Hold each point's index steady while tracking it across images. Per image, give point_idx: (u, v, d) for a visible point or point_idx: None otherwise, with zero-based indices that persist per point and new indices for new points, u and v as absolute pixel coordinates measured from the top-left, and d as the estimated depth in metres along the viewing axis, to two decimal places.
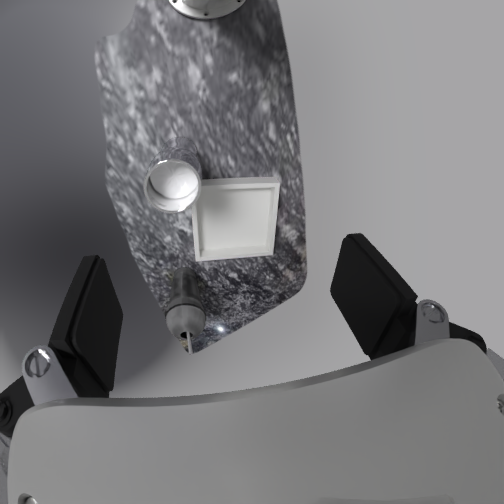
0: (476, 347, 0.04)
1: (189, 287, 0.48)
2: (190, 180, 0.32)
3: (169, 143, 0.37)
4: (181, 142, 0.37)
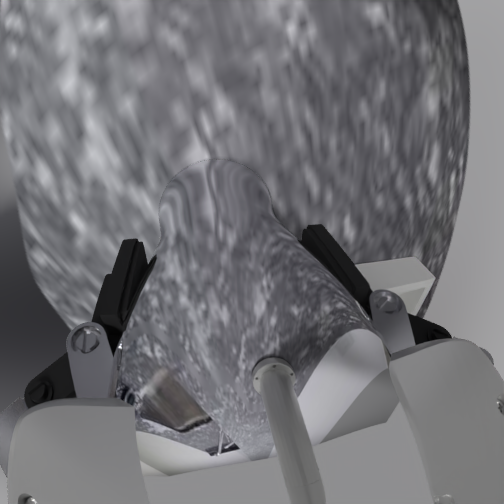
0: (476, 347, 0.04)
1: None
2: None
3: (190, 186, 0.11)
4: (236, 185, 0.11)
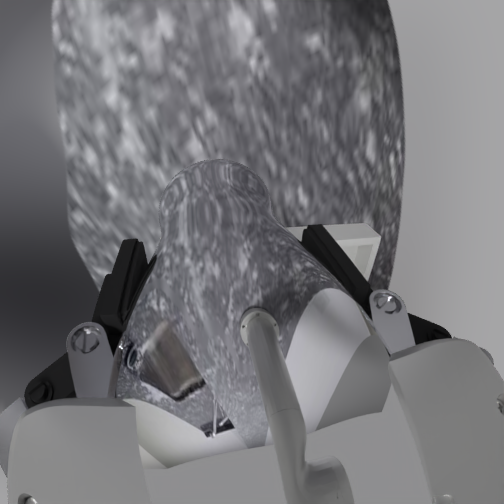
0: (476, 347, 0.04)
1: None
2: None
3: (190, 186, 0.11)
4: (236, 185, 0.11)
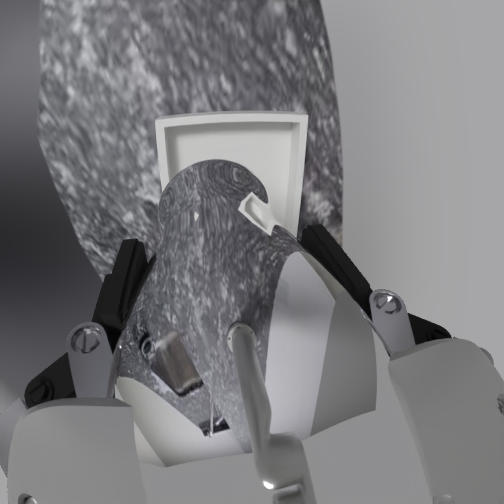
0: (476, 347, 0.04)
1: None
2: None
3: (189, 186, 0.11)
4: (235, 185, 0.11)
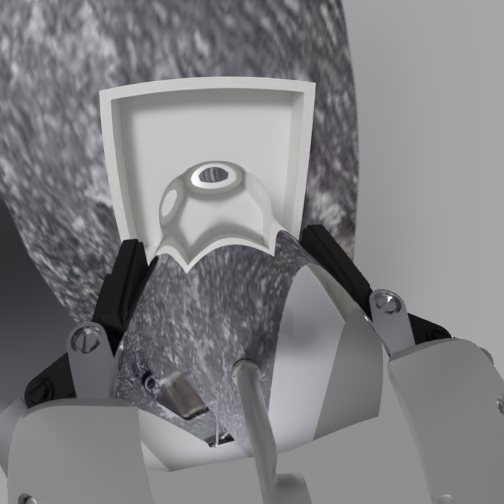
0: (476, 347, 0.04)
1: None
2: None
3: (190, 187, 0.11)
4: (235, 186, 0.11)
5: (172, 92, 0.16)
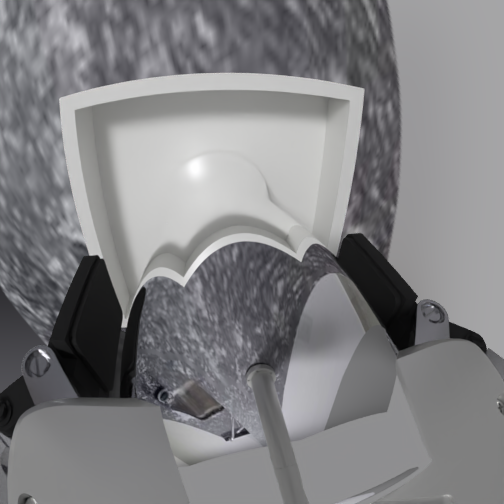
0: (476, 347, 0.04)
1: None
2: None
3: (193, 175, 0.12)
4: (235, 174, 0.12)
5: (163, 95, 0.12)
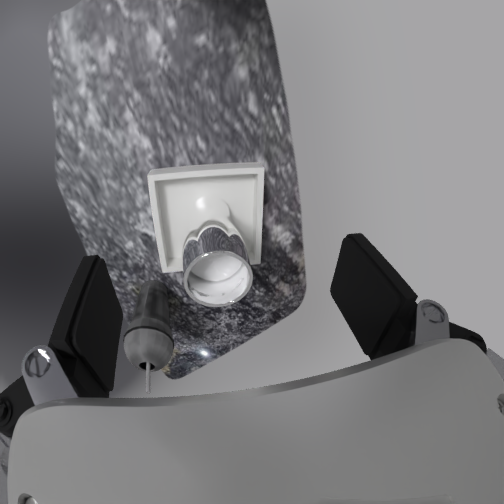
0: (476, 347, 0.04)
1: (154, 305, 0.37)
2: (233, 262, 0.29)
3: (199, 206, 0.34)
4: (214, 205, 0.34)
5: None
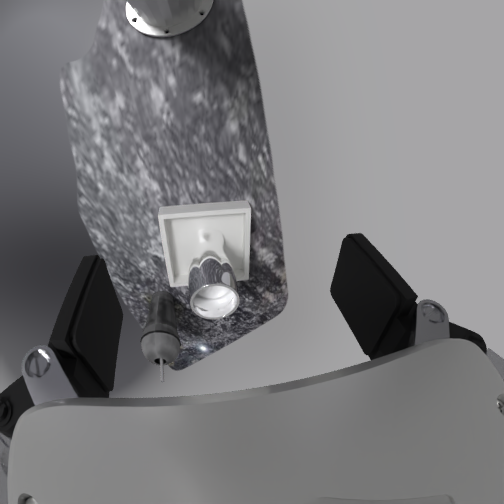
0: (476, 347, 0.04)
1: (164, 313, 0.47)
2: None
3: (199, 237, 0.44)
4: (211, 238, 0.44)
5: None
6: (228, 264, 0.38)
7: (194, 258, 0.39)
